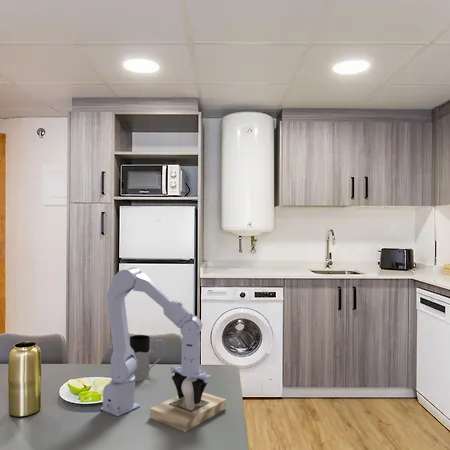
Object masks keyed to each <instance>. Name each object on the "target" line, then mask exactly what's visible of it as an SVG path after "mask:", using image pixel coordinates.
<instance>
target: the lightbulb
mask: <svg viewBox="0 0 450 450" xmlns="http://www.w3.org/2000/svg"><path fill="white" fill-rule="evenodd" d="M194 381H197V379H194V378H191V377H187V378H186V379H185V380H184V381H183V383H182V386H181V389H182V392H183V394H184V397H185V404H186V407H185V408H186V409H189V410H192V409H194V405H195V404H194V389H193V385H192V382H194Z"/></svg>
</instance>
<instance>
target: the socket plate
mask: <svg viewBox="0 0 450 450" xmlns="http://www.w3.org/2000/svg"><path fill="white" fill-rule="evenodd" d="M226 406H227V399H225V398H223V397H220V396H215V395H213V394H210V393H207V392H204V391H203V394H202V397H201V401H200V403H198V404H195V405H194V409H192V410H189V409H186V404H185V397H183V398H181V399H179V398H178V395H176V396H173V397H172V398H169V399H167V400H165V401H163V402H161V403H158V404H156V405H154V406H152V407H150V408H149V419H150V420H153V421H156V422H158V423H161V424H164V425H166V426H168V427H172V428H174V429H175V430H176V429H177V430H179V431H182V432H184V433H186V432H188V431H190V430H192V429H194V428H195V427H197V426H198V425H200V424H202V423H204V422H205V421H207V420H209V419H211V418H212V417H214V416H216V415H218V414H219V413H221V412H223V411H225V410H226Z"/></svg>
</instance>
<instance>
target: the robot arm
mask: <svg viewBox="0 0 450 450" xmlns="http://www.w3.org/2000/svg"><path fill="white" fill-rule="evenodd" d="M131 291H133V292H141V293H145V294H146V295H147V296H148V297H149V298H150V299H152V300H153V301H154V302H155V303H156V304H158V306H160V307H162V309H163V315H164V316H165V317H166V318H167V319H168V320H169V321H171V323H173V325H175V326H176V328H178V329H180V335H181V336H182V342H181V363H180V365H176V364H174V365H172V366H170V373H171V374H174V375H172V376H171V380H172V382H173V383H174V385H175V388H176V392H177V396H178V398H179V399H181V398H183V397H184V394H183V392H182V389H181V386H182V383H183V381H184V380H185V379H186V378H188V377H191V378H194V379H197V381H194V382H192V385H193V389H194V404H198V403H200V401H201V397H202V394H203V392H204V390H205V389H206V386H207V385H208V384H209V383H210V382H212V381H211V378H212V377H211V376H212V375H211V374H208V373H206V372H204V371H203V370H201V367H200V365H201V331H202V329H203V322H202V320H201V319H200V318H199V316H196V315H195V314H194V313H193V312H189V310H187V309H186V308H185V307H184V306H183V305H184V304H183V302H182V301H178V300H176V299H174V300H173V299H170V298H169V297H168V296H167V295H166V294H165V293H164V292H163V291H162V289H160V288H159V287H158V286H157V284H155V283H154V282H153V281H152V279H150V277H149V276H148V275H147V274H145V273H144V272H142V270H141V269H139V268H138V267H135V266H134V267H130V268H127V269H126V268H125V269H121V270H119V271H118V272H117V273H115V274H114V276H112V278H111V284H110V286H109V289H108V292H107V294H106V302H107V308H108V309H107V310H108V318H109V327H110V332H111V333H110V335H111V341H112V342H111V343H112V351H113V352H112V354H111V357H110V367H109V369H108V370H109V372H108V374H109V377H110V379H111V381H110V382H109V383H107V384H106V385H105V386H104V387H103V390H102V406H101V408H100V410H102V411H104V412H106V413H108V414H111V415H113V416H116V417H119V416H122V415H124V414H126V413H128V412H130V411H133V410H135V409H137V408H140V407H141V404H139V403H136V402H135V396H136V395H135V392H136V391H135V389H136V388H135V387H136V381H135V375H134V372H135V371H136V369H137V367H138V362H137V359H136V358H135V356H134V351H133V349H132V348H131V347H130V334H129V326H128V319H127V317H128V316H127V309H126V302H125V298H126V297H127V295H128V294H129V293H130V292H131Z"/></svg>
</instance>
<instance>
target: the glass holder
mask: <svg viewBox="0 0 450 450" xmlns="http://www.w3.org/2000/svg"><path fill="white" fill-rule="evenodd" d="M150 339H151V336H149V335H145V334H135V335H132V336H129V341H130V347H131V348H132V349H133V351H134V356H135V358H136V359H137V362H138V367H137V369H136V371H135V372H134V375H135V382H136V381H138V382H140V381H145V380H148V379H150V377H151V374H150V372H151V369H152V368H153V367H154V366H155V365H156V364H157V363H158V362H159V361H161V360H162V357H163V356H164V354H165V350H166V343H165V341H164V340H162V339H157V340H155V341H154V342H153V349H152V350H151V349H150V347H151V346H150V342H151V341H150ZM159 341H160V342H162V343H163V351H162V353H161V356H160V357H159V358H158V359H157V360H156V361H155V362H154V363H153V364H152V365H151V366H150V358H151V357H150V355H151V354H150V353H151V352H153V351H154V350H155V346H156V344H157V343H158V342H159Z"/></svg>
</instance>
